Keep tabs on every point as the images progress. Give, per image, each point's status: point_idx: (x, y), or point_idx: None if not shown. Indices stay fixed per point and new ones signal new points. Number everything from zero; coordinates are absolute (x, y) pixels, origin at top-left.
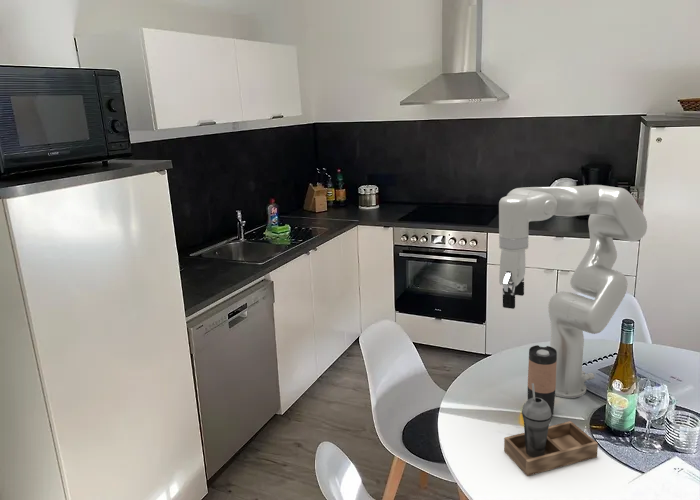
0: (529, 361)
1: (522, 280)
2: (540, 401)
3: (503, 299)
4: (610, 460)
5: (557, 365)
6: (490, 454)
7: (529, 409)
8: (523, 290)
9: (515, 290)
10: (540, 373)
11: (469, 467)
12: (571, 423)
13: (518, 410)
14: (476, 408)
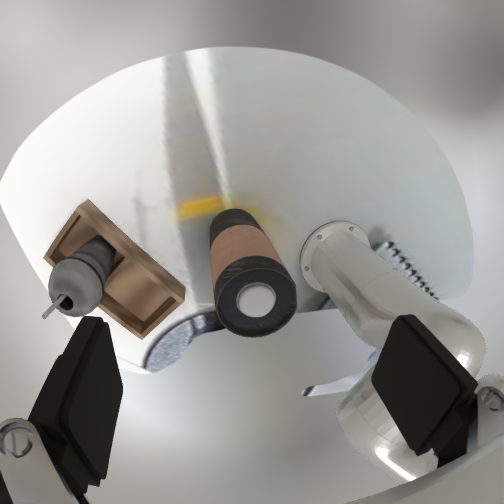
0: (234, 257)
1: (434, 459)
2: (94, 296)
3: (61, 370)
4: (147, 339)
5: (336, 273)
6: (71, 181)
7: (49, 284)
8: (389, 407)
9: (405, 360)
10: (212, 280)
11: (31, 163)
12: (177, 302)
13: (227, 191)
14: (204, 109)
